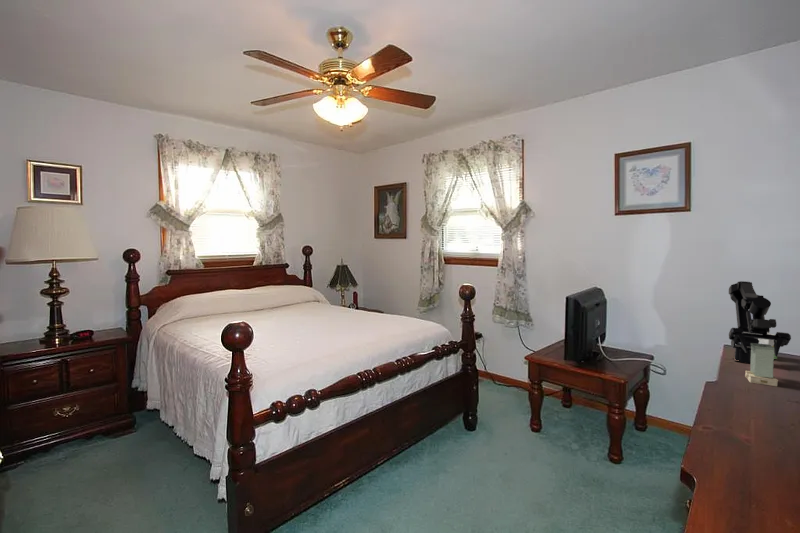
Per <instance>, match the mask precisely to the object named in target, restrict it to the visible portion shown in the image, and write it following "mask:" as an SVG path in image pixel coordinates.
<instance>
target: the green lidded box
mask: <svg viewBox="0 0 800 533" xmlns="http://www.w3.org/2000/svg"><path fill="white" fill-rule="evenodd" d="M774 361H775V360H774V347H772V346H771V345H769V344H757V343H751V363H750V365H749V366H750V370H749V371H750V372H751V373H752V374H753V375H754V376H759V377H769V378H773V376H774Z"/></svg>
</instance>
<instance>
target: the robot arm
mask: <svg viewBox="0 0 800 533" xmlns="http://www.w3.org/2000/svg"><path fill="white" fill-rule="evenodd" d="M728 295H729V296H730V300H731V301H732V302H734V305H735V312H736V313H735V314H736V321H737V322H736V324H737V327H732V328H730V329H729V333H728V339H729V340H730V346H731V347H732V348H733V349H735V350H734V357H735V359H736V360H739V361H741V362H740V363H743V362H746V364H751V343H757V344H759V340H758V339H767V340H774V354H775V356H776V357H777V358H778V355H779V353H780V349H781V348H782V347H784V346H788V345H789V343H790V342H791V340H792V335H791V334H790V333H788V332H781V331H776V333H775V335H768V334H767V332H768V333H770V332H769V329H773V328H774V329H775V328H776V327H777V320H776V318H775V319H774V318H769V319H765V316H766V315H767V313H768V311H769V309H770V308H771V305H772V303H771V301H770V300H769V299H768V298H766V297H764V295H759V294H757V293H756V291H755V289H754V286H753V283H752V281H744V280H740V281H737V282H736V283H733V284H730V286H729V287H728Z"/></svg>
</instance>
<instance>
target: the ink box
mask: <svg viewBox="0 0 800 533" xmlns="http://www.w3.org/2000/svg"><path fill="white" fill-rule="evenodd" d="M767 334H768V335H776V333H775V334H773V333H771V328H769V333H768V332H767ZM758 340H759V344H769V345H771V346H772V347H774V340H767V339H758ZM774 359H777V360H778V356H777V357H776V356H775V354H774Z"/></svg>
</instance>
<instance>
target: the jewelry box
mask: <svg viewBox="0 0 800 533" xmlns="http://www.w3.org/2000/svg"><path fill="white" fill-rule="evenodd" d="M744 377H745V378H746V379H747V380H748V382H749V383H750V384H757V385H765V386H771V387H778V382H779V379H777V378H776V376H774V375H773V378H769V377H759V376H754V375H753V374H752V373H751V372H750V370H745V374H744Z"/></svg>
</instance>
